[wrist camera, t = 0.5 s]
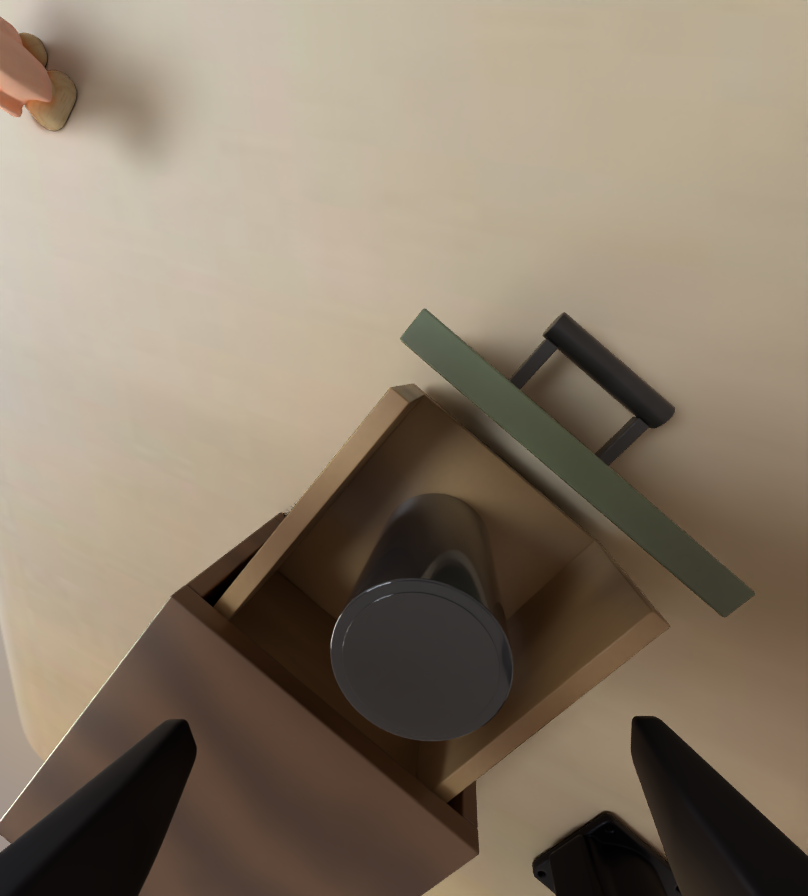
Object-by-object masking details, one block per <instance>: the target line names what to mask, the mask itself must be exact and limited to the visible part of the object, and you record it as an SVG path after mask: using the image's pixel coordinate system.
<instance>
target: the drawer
mask: <svg viewBox="0 0 808 896" xmlns="http://www.w3.org/2000/svg"><path fill="white" fill-rule="evenodd" d="M543 337H544V338H546V340H544V341H543V342H542V343H541V344H540V345H539V346H538V347H537V349H536V350H535V351H534V352H533V353H532V354H531V355H530V356H529V357H528V359H527V360H526V361H525V362H524V363H523V364H522V365H521V366H520V368H519V369H518V370H517V371H516V372H515V373H514V374H513V375H512V376H511V378H510V379H509V380H508V379H507V378H506V377H504V376H503V375H502V374H501V373H500V372H499V371H497V370H496V369H495V368H494V367H493V366H492V365H491V364H489V363H488V362H487V361H486V360H485V359H484V358H482V357H481V356H480V355H479V354H478V353H477V352H475V351H474V350H473V349H472V348H471V347H470V346H468V345H467V344H466V343H465V342H464V341H463V340H461V339H460V338H459V337H458V336H457V335H456V334H455V333H453V332H452V331H451V330H450V329H449V328H448V327H446V326H445V325H444V324H443V323H442V322H441V321H439V320H438V319H437V318H436V317H435V316H434V315H432V314H431V313H430V312H429V311H428V310H427V309H423V310H422V311H421V312H420V313H419V315H418V316H417V317H416V319H415V320H414V321H413V322H412V324H411V325H410V326H409V327H408V329H407V330H406V331H405V333H404V334H403V335H402V336H401V338H400V340H401V341H402V342H403V343H404V344H405V345H406V346H407V347H409V348H410V349H411V350H412V351H413V352H414V353H416V354H417V355H418V356H419V357H420V358H421V359H423V360H424V361H425V362H426V363H427V364H428V365H430V366H431V367H432V368H433V369H434V370H435V371H437V372H438V373H439V374H440V375H441V376H442V377H444V378H445V379H446V380H447V381H448V382H449V383H451V384H452V385H453V386H454V387H455V388H456V389H458V390H459V391H460V392H461V393H462V394H463V395H465V396H466V397H467V398H468V399H469V400H470V401H472V402H473V403H474V404H475V405H476V406H477V407H479V408H480V409H481V410H482V411H483V412H484V413H486V414H487V415H488V416H489V417H490V418H491V419H492V420H494V421H495V422H496V423H497V424H498V425H499V426H501V427H502V428H503V429H504V430H505V431H506V432H508V433H509V434H510V435H511V436H512V437H513V438H515V439H516V440H517V441H518V442H519V443H520V444H522V445H523V446H524V447H525V448H526V449H527V450H529V451H530V452H531V453H532V454H533V455H534V456H536V457H537V458H538V459H539V460H540V461H541V462H543V463H544V464H545V465H546V466H547V467H548V468H550V469H551V470H552V471H553V472H554V473H555V474H557V475H558V476H559V477H560V478H561V479H562V480H564V481H565V482H566V483H567V484H568V485H569V486H571V487H572V488H573V489H574V490H575V491H576V492H578V493H579V494H580V495H581V496H582V497H583V498H584V499H586V500H587V501H588V502H589V503H590V504H591V505H593V506H594V507H595V508H596V509H597V510H598V511H600V512H601V513H602V514H603V515H604V516H605V517H607V518H608V519H609V520H610V521H611V522H612V523H614V524H615V525H616V526H617V527H618V528H619V529H621V530H622V531H623V532H624V533H625V534H626V535H628V536H629V537H630V538H631V539H632V540H633V541H635V542H636V543H637V544H638V545H639V546H640V547H642V548H643V549H644V550H645V551H646V552H647V553H649V554H650V555H651V556H652V557H653V558H654V559H656V560H657V561H658V562H659V563H660V564H661V565H663V566H664V567H665V568H666V569H667V570H668V571H670V572H671V573H672V574H673V575H674V576H675V577H676V578H678V579H679V580H680V581H681V582H682V583H683V584H685V585H686V586H687V587H688V588H689V589H690V590H692V591H693V592H694V593H695V594H696V595H697V596H699V597H700V598H701V599H702V600H703V601H704V602H706V603H707V604H708V605H709V606H710V607H711V608H713V609H714V610H715V611H716V612H717V613H718V614H720V615H721V616H722V617H726V616H728V615H729V614H730V613H732V612H733V611H734V610H736V609H737V608H738V607H740V606H741V605H742V604H743V603H745V602H746V601H747V600H749V599H750V598H751V597H753V596H754V595H755V592H754V591H753V590H752V589H751V588H749V587H748V586H747V585H746V584H745V583H744V582H742V581H741V580H740V579H739V578H738V577H737V576H735V575H734V574H733V573H732V572H731V571H730V570H729V569H727V568H726V567H725V566H724V565H723V564H722V563H720V562H719V561H718V560H717V559H716V558H715V557H713V556H712V555H711V554H710V553H709V552H708V551H706V550H705V549H704V548H703V547H702V546H701V545H700V544H698V543H697V542H696V541H695V540H694V539H693V538H691V537H690V536H689V535H688V534H687V533H686V532H684V531H683V530H682V529H681V528H680V527H679V526H677V525H676V524H675V523H674V522H673V521H672V520H670V519H669V518H668V517H667V516H666V515H665V514H664V513H662V512H661V511H660V510H659V509H658V508H657V507H655V506H654V505H653V504H652V503H651V502H650V501H648V500H647V499H646V498H645V497H644V496H643V495H641V494H640V493H639V492H638V491H637V490H636V489H634V488H633V487H632V486H631V485H630V484H629V483H628V482H626V481H625V480H624V479H623V478H622V477H621V476H619V475H618V474H617V473H616V472H615V471H614V470H612V469H611V468H610V467H609V465H610V464H611V463H612V462H613V461H614V460H615V459H616V458H617V457H618V456H619V455H620V454H621V453H623V452H624V451H625V450H626V449H627V448H628V447H629V446H630V445H631V444H632V443H633V442H634V441H635V440H636V439H637V438H638V437H639V436H640V435H641V434H642V433H643V432H644V431H645V430H647V429H648V428H651V429H653V428H657V427H659V426H661V425H663V424H664V423H666V422H667V421H668V420H669V419H670V418H671V417H672V416H673V414H674V413H675V407H674V406H672V405H671V404H670V403H669V402H668V401H667V400H666V399H664V398H663V397H662V396H661V395H660V394H659V393H657V392H656V391H655V390H654V389H653V388H652V387H651V386H649V385H648V384H647V383H646V382H645V381H644V380H642V379H641V378H640V377H639V376H638V375H637V374H636V373H634V372H633V371H632V370H631V369H630V368H629V367H627V366H626V365H625V364H624V363H623V362H622V361H621V360H619V359H618V358H617V357H616V356H615V355H614V354H612V353H611V352H610V351H609V350H608V349H607V348H606V347H604V346H603V345H602V344H601V343H600V342H599V341H597V340H596V339H595V338H594V337H593V336H592V335H591V334H589V333H588V332H587V331H586V330H585V329H584V328H582V327H581V326H580V325H579V324H578V323H577V322H576V321H574V320H573V319H572V318H571V317H570V316H569V315H567V314H566V313H565V312H563V313H562V314H561V315H560V316H558V317H557V318H556V319H555V320H554V322H553V323H552V324H551V325H550V326H549V327H548V328H547V329H546V331H545V332H544V333H543ZM557 349H558V350H559V351H561V352H562V353H563V354H564V355H565V356H566V357H567V358H569V359H570V360H571V361H572V362H573V363H574V364H576V365H577V366H578V367H579V368H580V369H581V370H583V371H584V372H585V373H586V374H587V375H588V376H589V377H591V378H592V379H593V380H594V381H595V382H596V383H598V384H599V385H600V386H601V387H602V388H603V389H604V390H606V391H607V392H608V393H609V394H610V395H611V396H613V397H614V398H615V399H616V400H617V401H618V402H620V403H621V404H622V405H623V406H624V407H625V408H626V409H628V410H629V411H630V412H631V413H632V414H633V415H635V416H636V417H632V418H631V419H630V420H629V421H628V422H627V423H626V424H625V425H624V426H623V427H622V428H621V429H620V430H619V431H618V432H617V433H616V434H615V435H614V436H613V437H612V438H611V439H610V440H609V441H608V442H607V443H606V444H605V445H604V446H603V447H602V448H601V449H599V450H598V451H597V452H596V453H595V454H594V453H593V452H592V451H590V450H589V449H588V448H587V447H586V446H585V445H583V444H582V443H581V442H580V441H579V440H578V439H576V438H575V437H574V436H573V435H572V434H571V433H569V432H568V431H567V430H566V429H565V428H564V427H562V426H561V425H560V424H559V423H558V422H557V421H556V420H554V419H553V418H552V417H551V416H550V415H549V414H547V413H546V412H545V411H544V410H543V409H542V408H540V407H539V406H538V405H537V404H536V403H535V402H533V401H532V400H531V399H530V398H529V397H528V396H526V395H525V394H524V393H523V392H522V391H521V390H520V389H521V388H522V387H523V386H524V385H525V384H526V383H527V381H528V380H529V379H530V378H531V377H532V376H533V375H534V374H535V373H536V372H537V370H538V369H539V368H540V367H541V366H542V365H543V364H544V363H545V362H546V361H547V360H548V358H549V357H550V356H551V355H552V354H553V353H554V352H555V351H556V350H557ZM429 493H439V494H446V495H449V496H453V497H455V498H458V499H460V500H462V501H464V502H465V503H467V504H468V505H469V506H471V507H472V508H473V509H474V510H475V511H476V512H477V513H478V514H479V515H480V517H481V518H482V520H483V521H484V523H485V525H486V527H487V529H488V532H489V536H490V540H491V546H492V551H493V556H494V561H495V566H496V571H497V576H498V581H499V587H500V592H501V597H502V602H503V607H504V612H505V617H506V623H507V628H508V633H509V638H510V643H511V648H512V653H513V661H514V676H513V681H512V686H511V689H510V692H509V695H508V697H507V699H506V701H505V703H504V704H503V706H502V708H501V709H500V710H499V712H498V713H497V714H496V715H495V716H494V717H493V718H492V719H491V720H490V721H489V722H488V723H487V724H485V725H484V726H482V727H481V728H480V729H478V730H476V731H474V732H472V733H470V734H468V735H465V736H462V737H459V738H455V739H451V740H445V741H419V740H412V739H408V738H403V737H400V736H397V735H394V734H392V733H390V732H387V731H385V730H383V729H381V728H379V727H378V726H376V725H374V724H373V723H371V722H370V721H369V720H367V719H366V718H365V717H363V716H362V715H361V714H360V713H359V712H358V711H357V710H356V709H355V708H354V707H353V706H352V705H351V704H350V702H349V701H348V700H347V699H346V697H345V696H344V694H343V693H342V691H341V689H340V687H339V685H338V683H337V681H336V678H335V675H334V673H333V669H332V664H331V655H330V645H331V637H332V633H333V629H334V626H335V624H336V621H337V619H338V617H339V615H340V613H341V611H342V609H343V607H344V605H345V603H346V601H347V599H348V597H349V595H350V593H351V591H352V589H353V587H354V585H355V583H356V581H357V579H358V577H359V575H360V573H361V571H362V569H363V567H364V565H365V563H366V561H367V559H368V557H369V555H370V553H371V551H372V549H373V547H374V545H375V543H376V541H377V539H378V537H379V535H380V533H381V531H382V529H383V527H384V525H385V523H386V521H387V519H388V517H389V516H390V514H391V513H392V512H393V510H394V509H395V508H396V507H398V506H399V505H400V504H401V503H403V502H404V501H406V500H408V499H410V498H412V497H415V496H418V495H422V494H429ZM213 608H214V609H216V610H217V611H218V612H219V613H220V614H222V615H223V616H224V617H225V618H226V619H228V620H229V621H230V622H231V623H232V624H233V625H235V626H236V627H237V628H238V629H239V630H241V631H242V632H243V633H244V634H245V635H247V636H248V637H249V638H250V639H251V640H253V641H254V642H255V643H256V644H257V645H259V646H260V647H261V648H262V649H263V650H264V651H266V652H267V653H268V654H269V655H270V656H272V657H273V658H274V659H275V660H276V661H278V662H279V663H280V664H281V665H282V666H284V667H285V668H286V669H287V670H288V671H290V672H291V673H292V674H293V675H294V676H295V677H297V678H298V679H299V680H300V681H301V682H303V683H304V684H305V685H306V686H307V687H309V688H310V689H311V690H312V691H313V692H315V693H316V694H317V695H318V696H319V697H321V698H322V699H323V700H324V701H325V702H326V703H328V704H329V705H330V706H331V707H332V708H334V709H335V710H336V711H337V712H338V713H340V714H341V715H342V716H343V717H344V718H346V719H347V720H348V721H349V722H350V723H352V724H353V725H354V726H355V727H356V728H357V729H359V730H360V731H361V732H362V733H363V734H365V735H366V736H367V737H368V738H369V739H371V740H372V741H373V742H374V743H375V744H377V745H378V746H379V747H380V748H381V749H383V750H384V751H385V752H386V753H387V754H388V755H390V756H391V757H392V758H393V759H394V760H396V761H397V762H398V763H399V764H400V765H402V766H403V767H404V768H405V769H406V770H408V771H409V772H410V773H411V774H412V775H414V776H415V777H416V778H417V779H418V780H419V781H421V782H422V783H423V784H424V785H425V786H427V787H428V788H429V789H430V790H431V791H433V792H434V793H435V794H436V795H437V796H439V797H440V798H441V799H442V800H443V801H445V802H446V803H447V802H449V801H450V800H451V799H452V798H454V797H455V796H456V795H457V794H459V793H460V792H461V791H463V790H464V789H465V788H466V787H468V786H469V785H470V784H471V783H473V782H474V781H475V780H476V779H478V778H479V777H480V776H482V775H483V774H484V773H485V772H487V771H488V770H489V769H490V768H492V767H493V766H494V765H495V764H497V763H498V762H499V761H501V760H502V759H503V758H504V757H506V756H507V755H508V754H509V753H511V752H512V751H513V750H514V749H516V748H517V747H518V746H520V745H521V744H522V743H523V742H525V741H526V740H527V739H528V738H530V737H531V736H532V735H534V734H535V733H536V732H537V731H539V730H540V729H541V728H542V727H544V726H545V725H546V724H547V723H549V722H550V721H551V720H553V719H554V718H555V717H556V716H558V715H559V714H560V713H561V712H563V711H564V710H565V709H566V708H568V707H569V706H570V705H572V704H573V703H574V702H575V701H577V700H578V699H579V698H580V697H582V696H583V695H584V694H585V693H587V692H588V691H589V690H591V689H592V688H593V687H594V686H596V685H597V684H598V683H599V682H601V681H602V680H603V679H605V678H606V677H607V676H608V675H610V674H611V673H612V672H613V671H615V670H616V669H617V668H618V667H620V666H621V665H622V664H624V663H625V662H626V661H627V660H629V659H630V658H631V657H632V656H634V655H635V654H636V653H637V652H639V651H640V650H641V649H643V648H644V647H645V646H646V645H648V644H649V643H650V642H651V641H653V640H654V639H655V638H657V637H658V636H659V635H660V634H662V633H663V632H664V631H665V630H667V629H668V628H669V627H670V625H669V624H668V623H667V621H666V620H665V619H664V618H663V617H662V616H661V614H660V613H659V612H658V611H657V610H656V608H655V607H654V606H653V605H652V604H651V603H650V601H649V600H648V599H647V598H646V597H645V595H644V594H643V593H642V592H641V591H640V590H639V588H638V587H637V586H636V585H635V584H634V583H633V581H632V580H631V579H630V578H629V577H628V575H627V574H626V573H625V572H624V571H623V570H622V568H621V567H620V566H619V565H618V564H617V562H616V561H615V560H614V559H613V558H612V557H611V555H610V554H609V553H608V552H607V551H606V550H605V548H604V547H603V546H602V545H601V544H600V543H599V542H598V541H597V540H596V539H595V538H593V537H592V536H591V535H590V534H589V533H588V532H586V531H585V530H584V529H583V528H582V527H581V526H579V525H578V524H577V523H576V522H575V521H574V520H572V519H571V518H570V517H569V516H568V515H567V514H565V513H564V512H563V511H562V510H561V509H560V508H558V507H557V506H556V505H555V504H554V503H553V502H551V501H550V500H549V499H548V498H547V497H546V496H544V495H543V494H542V493H541V492H540V491H539V490H537V489H536V488H535V487H534V486H533V485H532V484H530V483H529V482H528V481H527V480H526V479H525V478H523V477H522V476H521V475H520V474H519V473H518V472H516V471H515V470H514V469H513V468H512V467H511V466H509V465H508V464H507V463H506V462H505V461H504V460H502V459H501V458H500V457H499V456H498V455H497V454H495V453H494V452H493V451H492V450H491V449H490V448H488V447H487V446H486V445H485V444H484V443H483V442H481V441H480V440H479V439H478V438H477V437H476V436H474V435H473V434H472V433H471V432H470V431H469V430H467V429H466V428H465V427H464V426H463V425H462V424H460V423H459V422H458V421H457V420H456V419H455V418H453V417H452V416H451V415H450V414H449V413H448V412H446V411H445V410H444V409H443V408H442V407H441V406H439V405H438V404H437V403H436V402H435V401H434V400H432V399H431V398H430V397H429V396H428V395H427V394H425V393H424V392H423V391H422V390H421V389H420V388H418V387H417V386H416V385H415V384H408V385H402V386H396V387H391V388H389V390H388V391H387V392H386V393H385V395H384V396H383V397H382V398H381V400H380V401H379V402H378V403H377V405H376V406H375V407H374V408H373V410H372V411H371V412H370V413H369V414H368V416H367V417H366V418H365V419H364V421H363V422H362V423H361V424H360V426H359V427H358V428H357V429H356V431H355V432H354V433H353V434H352V436H351V437H350V438H349V439H348V441H347V442H346V443H345V444H344V445H343V447H342V448H341V449H340V450H339V452H338V453H337V454H336V455H335V457H334V458H333V459H332V460H331V462H330V463H329V464H328V465H327V467H326V468H325V469H324V470H323V471H322V473H321V474H320V475H319V476H318V478H317V479H316V480H315V481H314V483H313V484H312V485H311V486H310V488H309V489H308V490H307V491H306V493H305V494H304V495H303V496H302V497H301V499H300V500H299V501H298V502H297V504H296V505H295V506H294V507H293V509H292V510H291V511H290V512H289V514H288V515H287V516H286V517H285V519H284V520H283V521H282V522H281V523H280V525H279V526H278V527H277V528H276V530H275V531H274V532H273V533H272V535H271V536H270V537H269V538H268V540H267V541H266V542H265V543H264V545H263V546H262V547H261V548H260V549H259V551H258V552H257V553H256V554H255V556H254V557H253V558H252V559H251V561H250V562H249V563H248V564H247V566H246V567H245V568H244V569H243V571H242V572H241V573H240V574H239V575H238V577H237V578H236V579H235V580H234V582H233V583H232V584H231V585H230V587H229V588H228V589H227V590H226V592H225V593H224V594H223V595H222V597H221V598H220V599H219V600H218V601H217V603H216V604H215V605H214V606H213Z"/></svg>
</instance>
